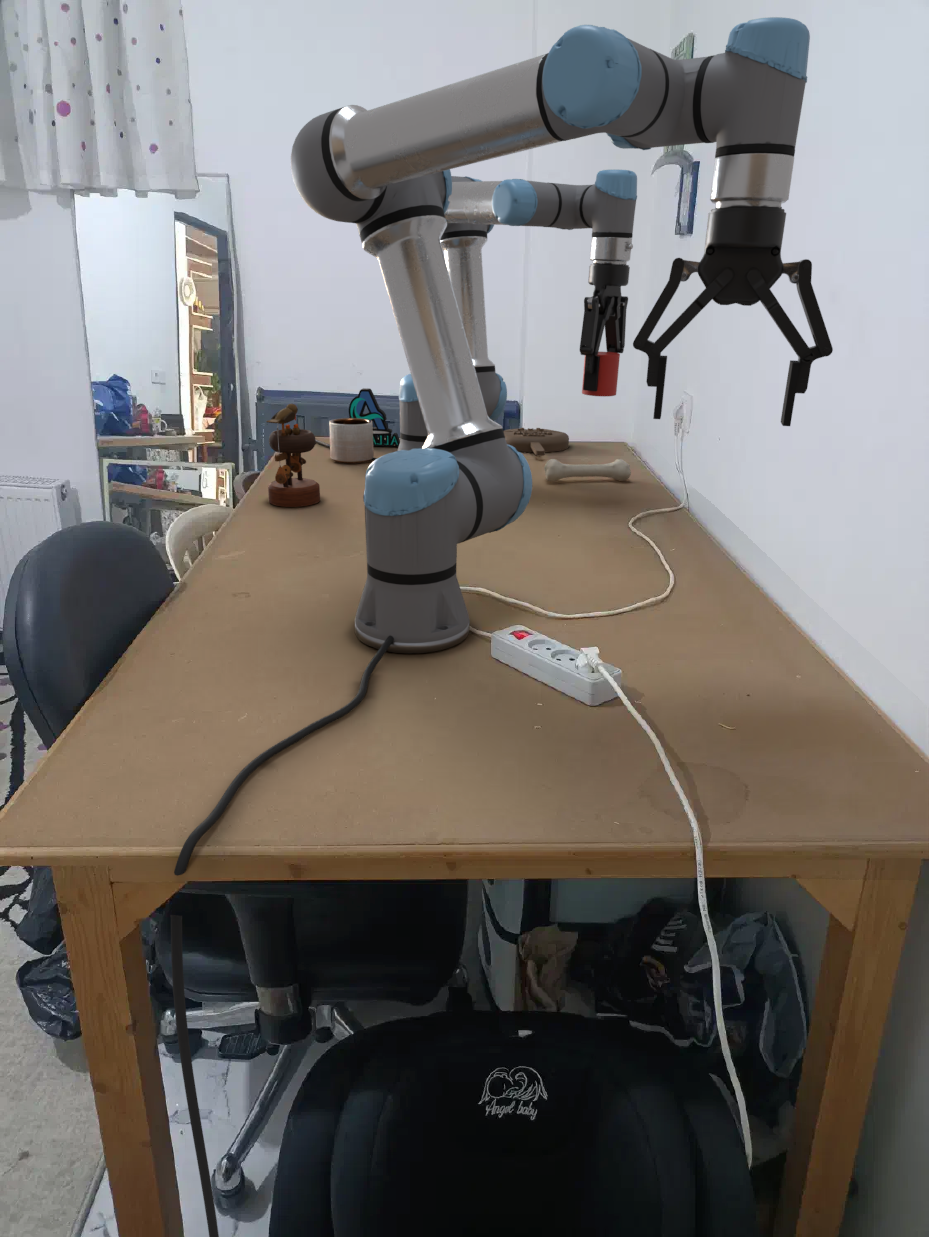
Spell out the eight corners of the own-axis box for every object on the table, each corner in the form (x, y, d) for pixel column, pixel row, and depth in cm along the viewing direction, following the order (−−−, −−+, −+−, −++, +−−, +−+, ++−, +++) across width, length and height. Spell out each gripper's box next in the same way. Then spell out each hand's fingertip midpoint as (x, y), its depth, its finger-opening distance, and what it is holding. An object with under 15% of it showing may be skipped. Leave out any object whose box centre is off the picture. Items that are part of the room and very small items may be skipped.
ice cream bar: (499, 460, 215) (500, 444, 214) (491, 440, 241) (491, 425, 240) (581, 461, 216) (582, 444, 215) (564, 441, 242) (565, 426, 241)
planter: (327, 456, 217) (325, 418, 214) (369, 454, 220) (368, 417, 217) (334, 465, 208) (332, 425, 204) (377, 463, 211) (376, 424, 207)
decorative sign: (401, 445, 233) (400, 389, 227) (399, 446, 230) (399, 390, 225) (333, 443, 234) (330, 387, 228) (331, 445, 231) (328, 388, 226)
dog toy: (623, 476, 201) (625, 455, 199) (632, 482, 195) (634, 461, 193) (540, 478, 198) (541, 457, 196) (547, 484, 192) (548, 462, 190)
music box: (312, 509, 169) (298, 407, 161) (260, 512, 170) (243, 411, 162) (332, 491, 183) (320, 396, 175) (283, 493, 184) (269, 399, 176)
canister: (620, 396, 165) (624, 355, 162) (587, 396, 164) (590, 355, 161) (609, 391, 172) (613, 351, 169) (577, 391, 171) (580, 351, 168)
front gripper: (874, 209, 86) (835, 421, 94) (625, 209, 91) (609, 409, 99) (889, 203, 79) (846, 433, 87) (619, 204, 84) (603, 419, 92)
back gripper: (602, 262, 149) (592, 395, 158) (650, 264, 164) (638, 385, 173) (566, 261, 153) (557, 391, 162) (616, 263, 168) (605, 382, 177)
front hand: (720, 421), depth 93 cm, fingers open, 13 cm apart
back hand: (599, 388), depth 168 cm, fingers closed on canister, 7 cm apart
